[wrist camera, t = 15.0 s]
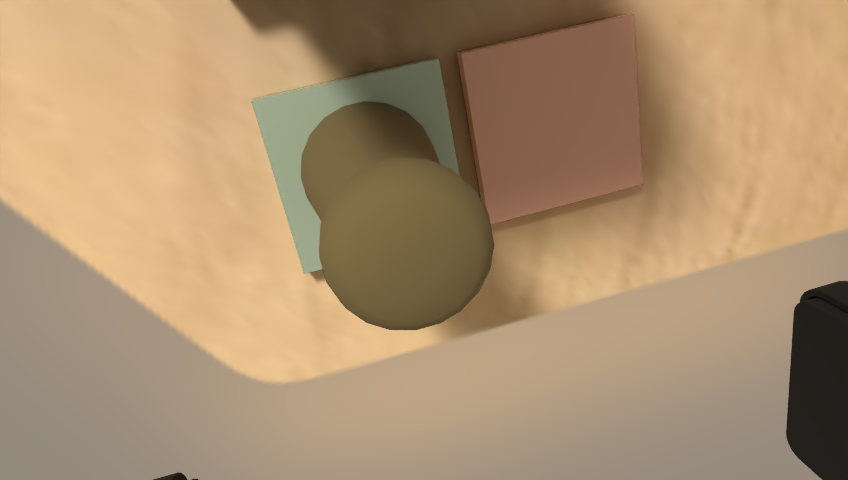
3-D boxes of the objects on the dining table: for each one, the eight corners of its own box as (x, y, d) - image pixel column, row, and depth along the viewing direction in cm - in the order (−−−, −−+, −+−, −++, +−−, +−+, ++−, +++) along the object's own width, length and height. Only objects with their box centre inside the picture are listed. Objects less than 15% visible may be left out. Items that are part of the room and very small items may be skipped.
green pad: (434, 57, 26) (438, 58, 25) (464, 224, 29) (469, 230, 28) (252, 98, 25) (251, 101, 24) (303, 267, 28) (304, 273, 27)
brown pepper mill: (274, 194, 26) (262, 309, 16) (346, 72, 25) (383, 113, 15) (390, 256, 28) (445, 393, 18) (462, 147, 27) (564, 228, 17)
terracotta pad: (624, 14, 27) (633, 14, 26) (634, 180, 30) (643, 184, 29) (456, 52, 26) (461, 53, 25) (484, 219, 29) (489, 224, 28)
